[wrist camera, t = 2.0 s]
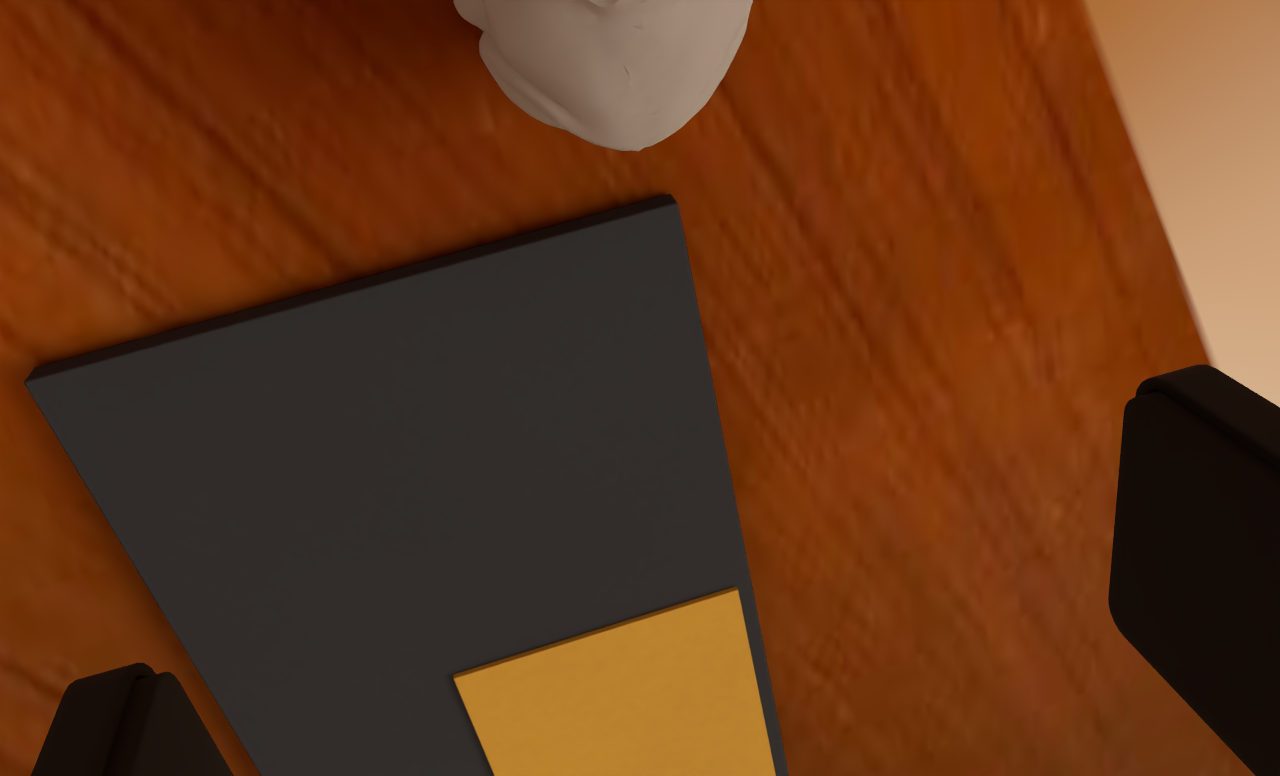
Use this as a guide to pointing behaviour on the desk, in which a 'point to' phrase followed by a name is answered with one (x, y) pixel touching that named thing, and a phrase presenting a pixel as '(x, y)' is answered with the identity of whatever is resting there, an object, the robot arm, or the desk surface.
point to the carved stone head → (609, 61)
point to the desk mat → (446, 514)
